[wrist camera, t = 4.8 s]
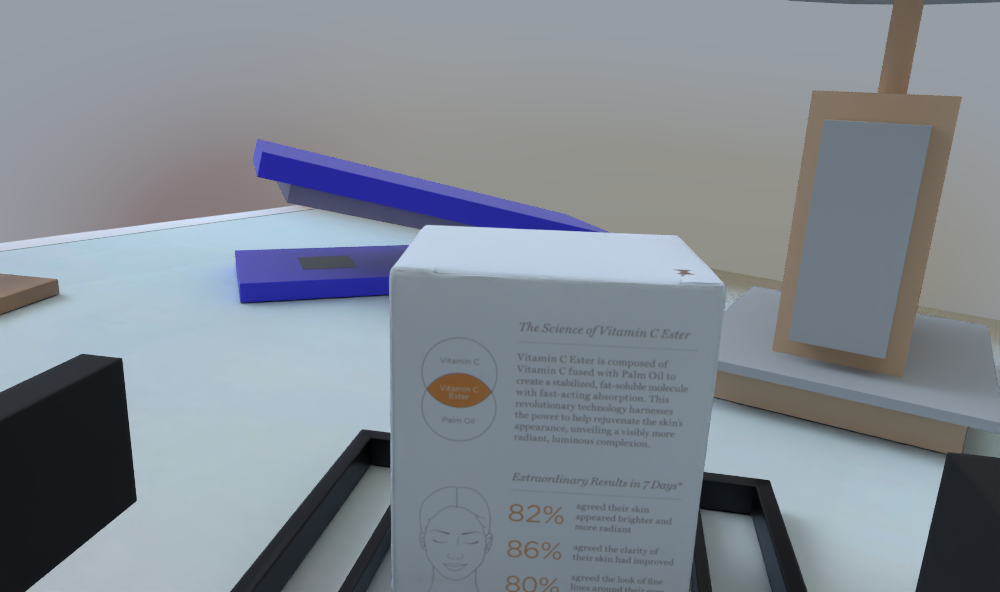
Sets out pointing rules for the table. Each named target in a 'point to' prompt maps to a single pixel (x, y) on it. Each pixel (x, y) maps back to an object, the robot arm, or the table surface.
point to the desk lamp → (866, 275)
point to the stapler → (371, 198)
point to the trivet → (24, 290)
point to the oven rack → (316, 511)
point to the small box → (549, 409)
